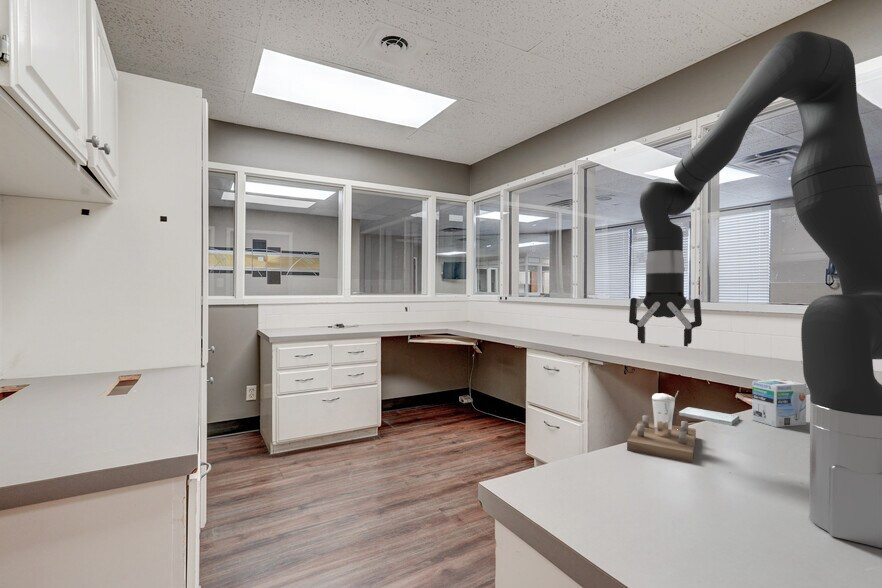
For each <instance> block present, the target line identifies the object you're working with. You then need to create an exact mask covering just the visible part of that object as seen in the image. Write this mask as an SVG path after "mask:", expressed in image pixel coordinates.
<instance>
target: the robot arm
mask: <svg viewBox="0 0 882 588" xmlns="http://www.w3.org/2000/svg"><path fill="white" fill-rule="evenodd" d="M856 74H857V73H856V65H855V58H854V54H853V51H852V50H851V48H850V47H849V45H848V44H847V43H846V42H844V41H842V40H840V39H837V38H834V37H831V36H828V35H823V34H820V33H818V32H817V33H816V32H813V31H805V30H804V31H802V30H801V31H796V32H791V34H789V35H786V36H785V37H783V38H782V39H781V40H779V41H778V42H777V43H776V44H775V45H774V46H772V47H771V48H770V49H769V51H768V52H767V53H766V54H765V55H764V56H763V58H762V59H761V60H760V62H759V63H758V64H757V65H756V67H755V68H754V69H753V71H751V74H750V75H749V76H748V78H747V79H746V80H745V82H744V83H743V84H742V86H741V87H740V89H739V90H738V91H737V93H736V94H734V97H733V98H732V100H731V101H730V102H729V104H728V105H727V107H726V108H725V109H724V110H723V112H722V113H721V115H720V116H719V117H718V119H717V120H716V121H715V123H713V126H711V128H709V130H708V131H707V133H706V134H705V135H704V136H703V137H702V138H701V139H700V140H699V141H698V142H697V143H696V144H695V145H694V146H693V147H692V148H691V149H690V151H688V153H686V154H685V156H683V157H682V158H681V159H680V161H679V162H678V163H677V164H676V165H675V167H674V171H673V174H674V177H675V179H676V182H674V183H672V182H664V181H652V182H650V183H648V184H647V185H646V186H644V188H643V190H642V192H641V194H640V196H639V209H640V212H641V216H642V220H643V224H644V228H645V231H646V234H647V255H646V261H645V297H644V298H638V297H631V298H630V301H629V302H630V303H629V315H628V323H629V324H631V325H634V326H636V328H637V340H638V341H639V342H640V344H646V326H645V325H646V324H647V323H648V321H650V319H652V317H655V318H664V317H665V318H669V319H671V318H674V317H676V318H677V319H678V320H679V321H680V322H681V324H682V325H683V326H684V329H683V347H688V346H689V345H690V344H691V343H692V341H693V339H692V337H693V334H692V333H693V329H694V328H698V327H701V326H702V324H703V323H702V322H703V320H702V307H701V305H702V304H701V299H700V298H698V297H697V298H694V299H692V298H691V299H689V298H688V299H686V298H685V270H686V269H685V259H684V258H685V257H684V231H683V228H682V227H681V226H680V225H677V224H675V223H674V222H672V221H671V219H670V216H679V215H682V214H683V213H684V212H687V210H688V209H690V208H691V206H692V205H693V204H694V202H695V201H696V200H697V198H698V197H699V195H700V194H701V192H702V191H703V189H704V187H706V184H707V183H709V182H710V181H711V180H712V179H714V178H715V177H716V176H717V174H719V173H720V172H721V171H722V170H723V169H724V168H725V167H726V166H727V165H728V164H729V163H730V162H731V161H732V160H733V158H734V157H735V156H736V154H737V153H738V151H739V148H740V147H741V144H742V142H743V140H744V138H745V135H746V133H747V131H748V129H749V127H750V126H751V124H752V123H753V121H754V120H755V119H756V118H757V117H758V116H759V114H761V113H762V112H763V111H764V110H765V109H766V108H768V106H769V107H770V105H771V104H772V103H773V102H775V101H776V100H778V99H780V98H782V99H787V100H790V101H793V102H794V103H795V105H796V107H797V109H798V112H799V116H800V121H801V125H802V129H803V130H802V131H803V138H802V143H801V146H800V147H799V149H798V150H799V151H798V153H797V155H796V158H795V161H794V163H793V166H792V169H791V173H790V174H791V175H790V185H791V193H792V196H793V202H794V206H795V211H796V215H797V218H798V220H799V222H800V224H801V225H802V226H803V229H804V230H805V231H806V232H807V233H808V235H809V236H810V238H812V240H813V241H814V242H815V243H816V244H817V245H818V246H819V247H820V249H821V250H822V251H823V252H824V254H825V255H826V257H828V259H829V260H830V262H831V263H832V265H833V267H834V270H835V271H836V274H837V277H838V280H839V283H840V288H841V293H842V294H840V293H839V294H827V295H823V296H820V297H818V298H816V299H814V300H813V301H811V303H809V305H808V306H807V308H806V309H805V311H804V313H803V316H802V320H801V327H800V329H801V332H800V333H801V334H800V335H801V337H800V338H801V339H800V341H801V351H802V352H801V353H802V355H801V356H802V372H803V377H804V381H805V384H806V387H807V388H808V391H809V395H810V397H809V401H810V403H809V405H810V406H809V409H810V410H809V415H810V416H809V481H808V482H809V483H808V484H809V485H808V486H809V489H808V490H809V499H808V500H809V503H808V504H809V506H808V507H809V511H808V513H809V515H808V518H809V519H810V521H811V522H812V523H814V524H815V525H816V526H817V527H820V529H823V530H824V531H826V532H828V534H829V535H830V536H832V537H833V538H834V537H835V538H837V539H842V540H846V541H847V540H848V541H851V542H855V543H859V544H863V545H868V546H872V547H876V548H880V549H882V384H881V383H880V382H879V381H878V380H877V379H876V377H875V373H874V371H875V370H874V364H873V363H874V361H873V360H882V206H881V200H880V195H879V189H878V185H877V181H876V175H875V173H874V172H875V171H874V168H873V165H872V161H871V157H870V154H869V151H868V146H867V141H866V136H865V132H864V128H863V124H862V120H861V116H860V112H859V106H858V93H857V92H858V91H857V90H858V89H857V76H856ZM642 304H643V305H644V306H645V307H646V309H647V312H645V313H644V315H643V316H642V317H641V318H640V319H637V316H638V315H637V314H638V308H641V305H642ZM686 304H687V305H688V306H689V308H690V309H691V310H692V309H693V313H694V314H693V315H694V321H691V322H690V320H689V319H688V318H687V317H686V315H685V314H684V313H683V312H682V310H683V309H684V307H685V306H686Z"/></svg>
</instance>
